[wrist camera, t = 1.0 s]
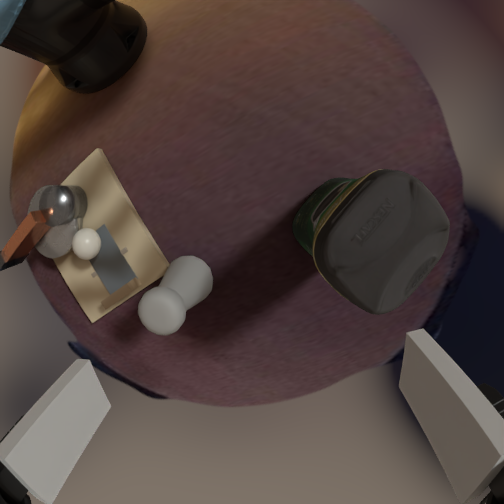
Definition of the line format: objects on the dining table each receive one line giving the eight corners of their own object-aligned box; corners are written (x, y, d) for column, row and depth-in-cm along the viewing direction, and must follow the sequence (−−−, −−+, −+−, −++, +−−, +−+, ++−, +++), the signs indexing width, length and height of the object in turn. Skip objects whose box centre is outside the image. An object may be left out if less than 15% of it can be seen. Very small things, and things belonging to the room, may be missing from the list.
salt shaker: (215, 251, 35) (186, 284, 22) (218, 295, 36) (194, 348, 23) (169, 252, 35) (121, 284, 22) (174, 295, 36) (133, 344, 24)
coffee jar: (328, 270, 34) (383, 345, 16) (281, 227, 34) (297, 268, 16) (380, 212, 33) (475, 235, 15) (334, 167, 32) (406, 143, 14)
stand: (37, 216, 35) (19, 219, 31) (101, 149, 33) (84, 145, 29) (96, 320, 38) (81, 331, 34) (172, 268, 35) (161, 278, 31)
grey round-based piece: (15, 229, 34) (-16, 236, 27) (70, 163, 32) (35, 161, 24) (41, 281, 36) (11, 296, 28) (102, 223, 33) (68, 232, 26)
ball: (78, 236, 34) (61, 241, 30) (96, 220, 33) (79, 223, 29) (93, 261, 34) (76, 268, 30) (111, 245, 34) (95, 252, 30)
